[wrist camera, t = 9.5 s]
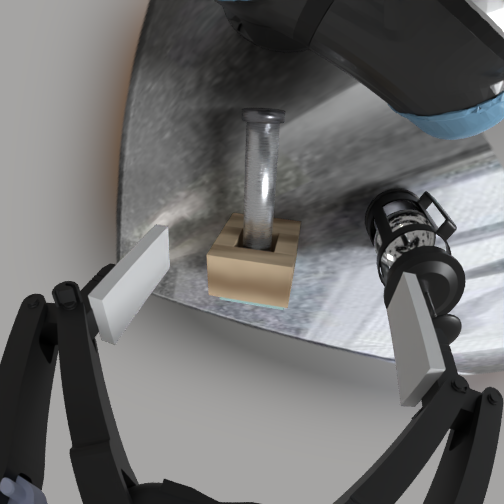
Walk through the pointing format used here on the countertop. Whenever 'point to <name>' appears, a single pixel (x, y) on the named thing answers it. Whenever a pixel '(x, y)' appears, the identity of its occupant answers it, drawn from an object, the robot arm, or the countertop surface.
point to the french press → (417, 255)
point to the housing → (253, 264)
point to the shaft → (260, 175)
